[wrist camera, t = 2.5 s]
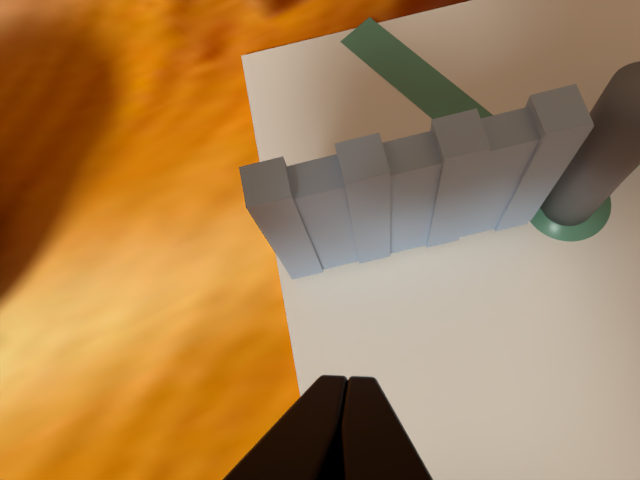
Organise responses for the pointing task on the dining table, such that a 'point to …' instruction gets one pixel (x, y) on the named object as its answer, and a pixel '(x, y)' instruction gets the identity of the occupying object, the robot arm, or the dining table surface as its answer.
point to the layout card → (472, 245)
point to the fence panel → (416, 184)
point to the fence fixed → (601, 152)
